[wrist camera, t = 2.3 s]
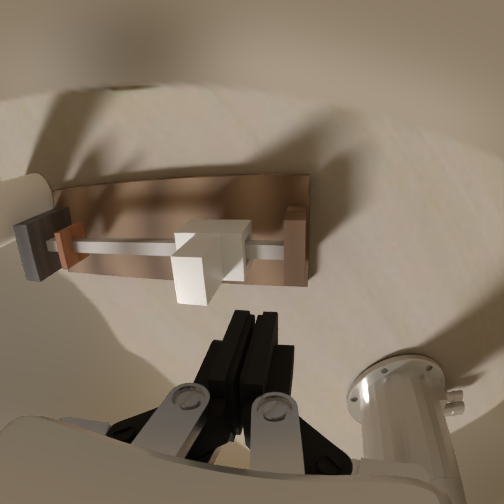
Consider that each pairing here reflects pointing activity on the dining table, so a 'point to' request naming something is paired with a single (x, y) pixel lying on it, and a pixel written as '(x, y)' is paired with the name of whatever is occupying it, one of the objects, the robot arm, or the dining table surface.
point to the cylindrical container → (22, 202)
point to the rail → (169, 226)
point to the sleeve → (209, 257)
